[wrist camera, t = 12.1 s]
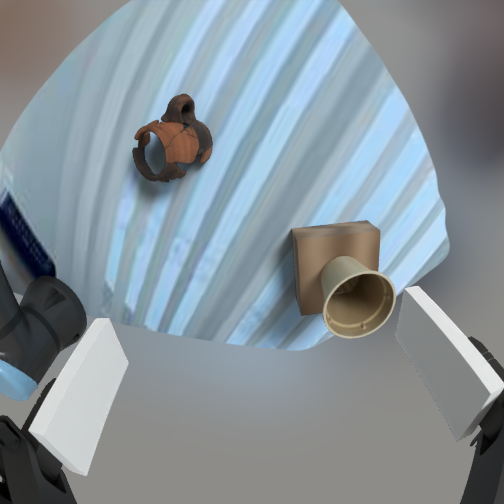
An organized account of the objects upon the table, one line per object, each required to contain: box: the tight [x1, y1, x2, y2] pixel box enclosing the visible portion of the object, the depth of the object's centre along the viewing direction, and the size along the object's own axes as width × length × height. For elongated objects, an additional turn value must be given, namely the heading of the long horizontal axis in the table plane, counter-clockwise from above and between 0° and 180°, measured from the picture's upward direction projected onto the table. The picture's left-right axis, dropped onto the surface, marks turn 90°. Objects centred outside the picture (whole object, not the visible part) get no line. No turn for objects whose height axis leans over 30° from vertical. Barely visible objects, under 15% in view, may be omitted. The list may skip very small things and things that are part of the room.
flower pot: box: [321, 256, 396, 338], centre depth 35 cm, size 9×9×9 cm
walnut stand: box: [292, 220, 380, 316], centre depth 42 cm, size 12×12×5 cm
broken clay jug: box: [132, 94, 213, 183], centre depth 34 cm, size 12×10×8 cm
